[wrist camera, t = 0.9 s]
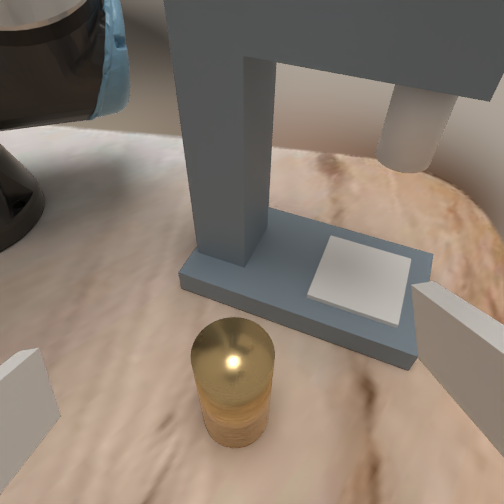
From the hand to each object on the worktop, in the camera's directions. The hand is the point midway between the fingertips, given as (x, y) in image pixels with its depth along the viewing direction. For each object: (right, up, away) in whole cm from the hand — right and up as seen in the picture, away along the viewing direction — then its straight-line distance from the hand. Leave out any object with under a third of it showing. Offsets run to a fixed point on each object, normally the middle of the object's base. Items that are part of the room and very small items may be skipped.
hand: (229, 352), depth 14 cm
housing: (0, -9, +17) cm, 20 cm away
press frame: (+6, +1, +26) cm, 27 cm away
